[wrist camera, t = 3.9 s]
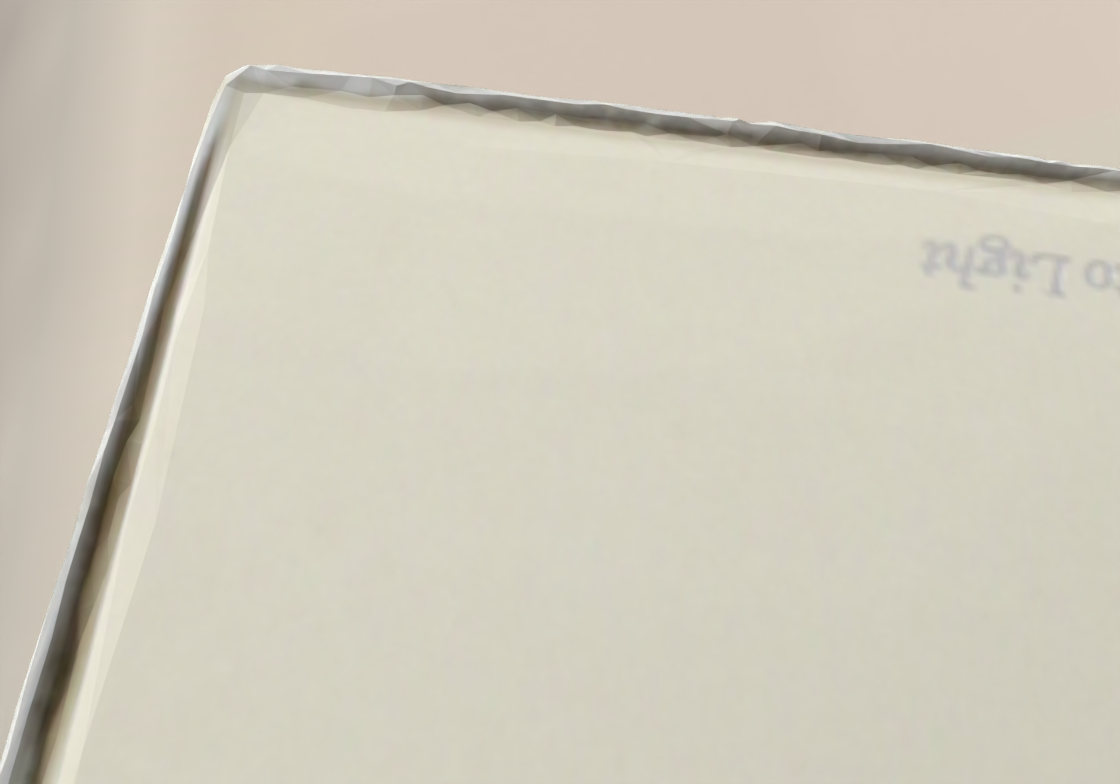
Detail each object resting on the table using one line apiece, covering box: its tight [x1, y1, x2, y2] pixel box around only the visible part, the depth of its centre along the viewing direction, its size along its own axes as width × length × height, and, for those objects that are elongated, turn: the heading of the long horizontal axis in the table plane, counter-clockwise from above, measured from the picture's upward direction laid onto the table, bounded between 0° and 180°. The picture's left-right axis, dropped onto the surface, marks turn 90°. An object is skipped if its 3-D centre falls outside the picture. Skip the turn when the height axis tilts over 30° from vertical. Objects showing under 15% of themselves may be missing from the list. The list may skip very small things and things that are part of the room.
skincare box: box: [0, 65, 1120, 784], centre depth 9 cm, size 6×4×12 cm
